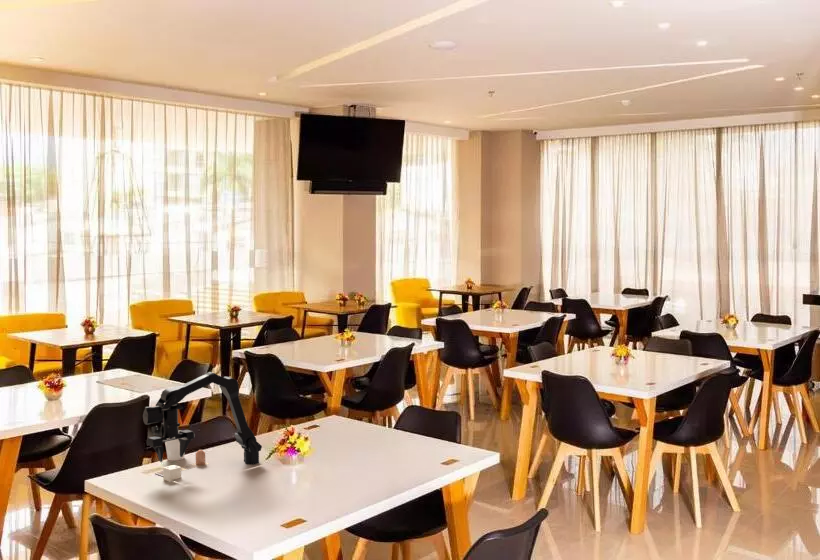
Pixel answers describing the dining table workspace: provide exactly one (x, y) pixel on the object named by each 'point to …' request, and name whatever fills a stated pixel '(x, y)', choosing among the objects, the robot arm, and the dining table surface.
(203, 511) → the dining table surface
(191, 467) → the track
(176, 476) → the die
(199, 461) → the pawn
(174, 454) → the cup
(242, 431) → the robot arm
